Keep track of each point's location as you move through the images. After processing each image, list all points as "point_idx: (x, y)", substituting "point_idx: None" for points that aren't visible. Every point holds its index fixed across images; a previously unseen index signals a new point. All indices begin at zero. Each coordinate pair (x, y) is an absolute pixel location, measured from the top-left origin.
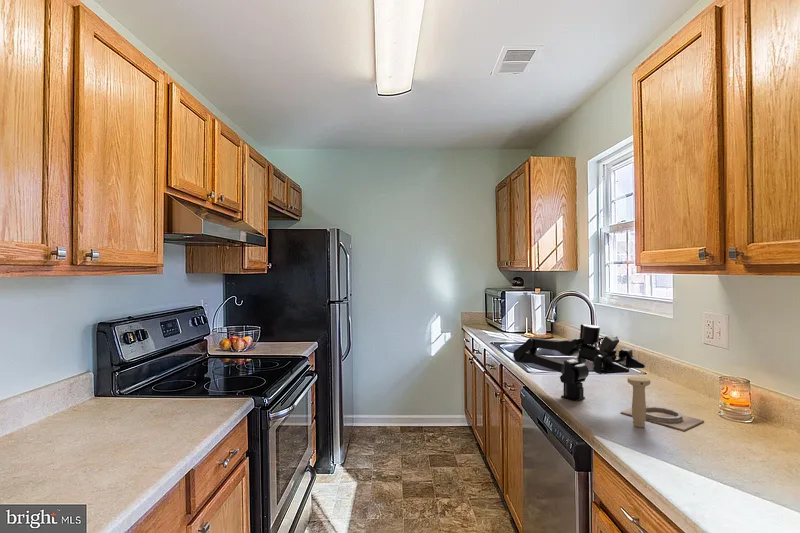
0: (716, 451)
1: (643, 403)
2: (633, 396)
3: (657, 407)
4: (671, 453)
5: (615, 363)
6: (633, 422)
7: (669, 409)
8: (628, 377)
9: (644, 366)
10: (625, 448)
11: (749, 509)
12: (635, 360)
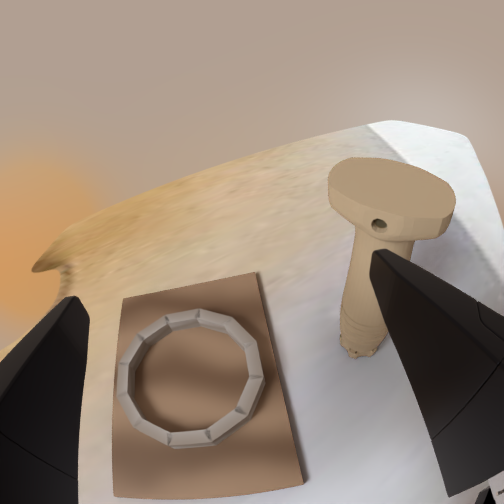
0: (304, 195)
1: None
2: None
3: (135, 413)
4: None
5: (500, 330)
6: (376, 348)
7: (124, 376)
8: (438, 218)
9: (79, 305)
10: (482, 242)
11: (409, 131)
12: (23, 370)
